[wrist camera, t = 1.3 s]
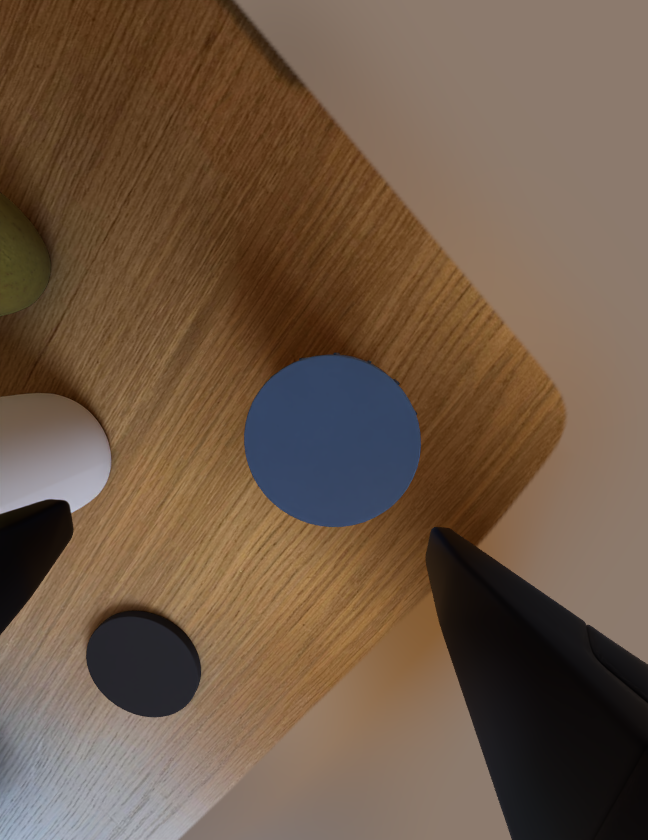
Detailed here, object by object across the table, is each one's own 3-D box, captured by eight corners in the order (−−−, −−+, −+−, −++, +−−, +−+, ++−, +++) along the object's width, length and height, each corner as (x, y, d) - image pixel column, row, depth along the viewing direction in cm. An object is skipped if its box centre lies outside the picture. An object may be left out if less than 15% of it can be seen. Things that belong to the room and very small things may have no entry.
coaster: (210, 630, 25) (206, 637, 25) (191, 723, 27) (188, 732, 27) (97, 596, 26) (91, 601, 25) (87, 689, 28) (81, 696, 27)
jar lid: (432, 375, 14) (445, 379, 12) (388, 519, 16) (393, 547, 13) (277, 337, 15) (261, 334, 12) (248, 481, 16) (229, 502, 14)
